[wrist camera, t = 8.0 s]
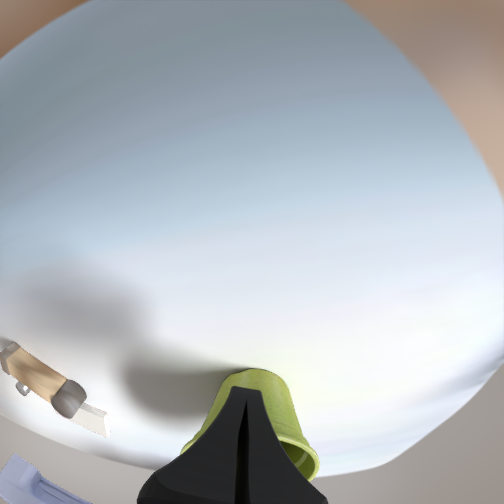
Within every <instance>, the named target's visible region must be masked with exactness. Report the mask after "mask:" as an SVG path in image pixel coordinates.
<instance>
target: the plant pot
mask: <svg viewBox="0 0 504 504" xmlns="http://www.w3.org/2000/svg"><path fill="white" fill-rule="evenodd" d="M232 386H239V387H244V388H249V389H255V390H260V391H261V392H262V396H263V400H264V404H265V407H266V410H267V413H268V416H269V419H270V421H271V424H272V426H273V429H274V431H275V433H276V435H277V437H278V439H279V441H280V443H281V445H282V447H283V448H284V450H285V451H286V453H287V455H288V456H289V458H290V459H291V461H292V462H293V463H294V465H295V466H296V467H297V468H298V470H299V471H300V472H301V473H302V475H303V476H304V477H305V478H306V479H307V480H308V481H309V482H310V481H311V480H312V479H313V478H314V477H315V476H316V474H317V473H318V470H319V467H320V463H319V458H318V456H317V454H316V452H315V451H314V450H313V449H312V448H311V447H310V446H309V443H308V442H307V440H306V439H305V437H303V434H302V431H301V428H300V425H299V422H298V419H297V415H296V412H295V409H294V405H293V402H292V398H291V395H290V392H289V389H288V387H287V385H286V384H285V382H284V381H283V380H282V379H281V378H280V377H279V376H277V375H276V374H274V373H272V372H269V371H265V370H260V369H248V370H246V371H243V372H240V373H236V374H231V375H230V376H228V377H227V378H226V379H225V380H224V381H223V383H222V385H221V387H220V389H219V391H218V393H217V396H216V398H215V400H214V403H213V405H212V407H211V409H210V411H209V413H208V415H207V417H206V419H205V422H204V424H203V426H202V428H201V430H200V431H199V432H197V433H196V435H195V436H194V438H193V439H192V440H190V441H189V442H188V443H187V444H186V445H185V446H184V447H183V448H182V450H181V453H180V455H181V454H182V453H183V452H185V451H186V450H187V449H188V448H189V447H190V446H191V445H192V444H193V443H194V442H195V441H197V439H198V438H199V437H200V436H201V435H202V434H203V433H204V432H205V431H206V430H207V428H208V427H209V426H210V425H211V423H212V422H213V421H214V419H215V418H216V417H217V415H218V414H219V412H220V410H221V409H222V407H223V405H224V404H225V402H226V400H227V398H228V396H229V393H230V390H231V387H232Z"/></svg>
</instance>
